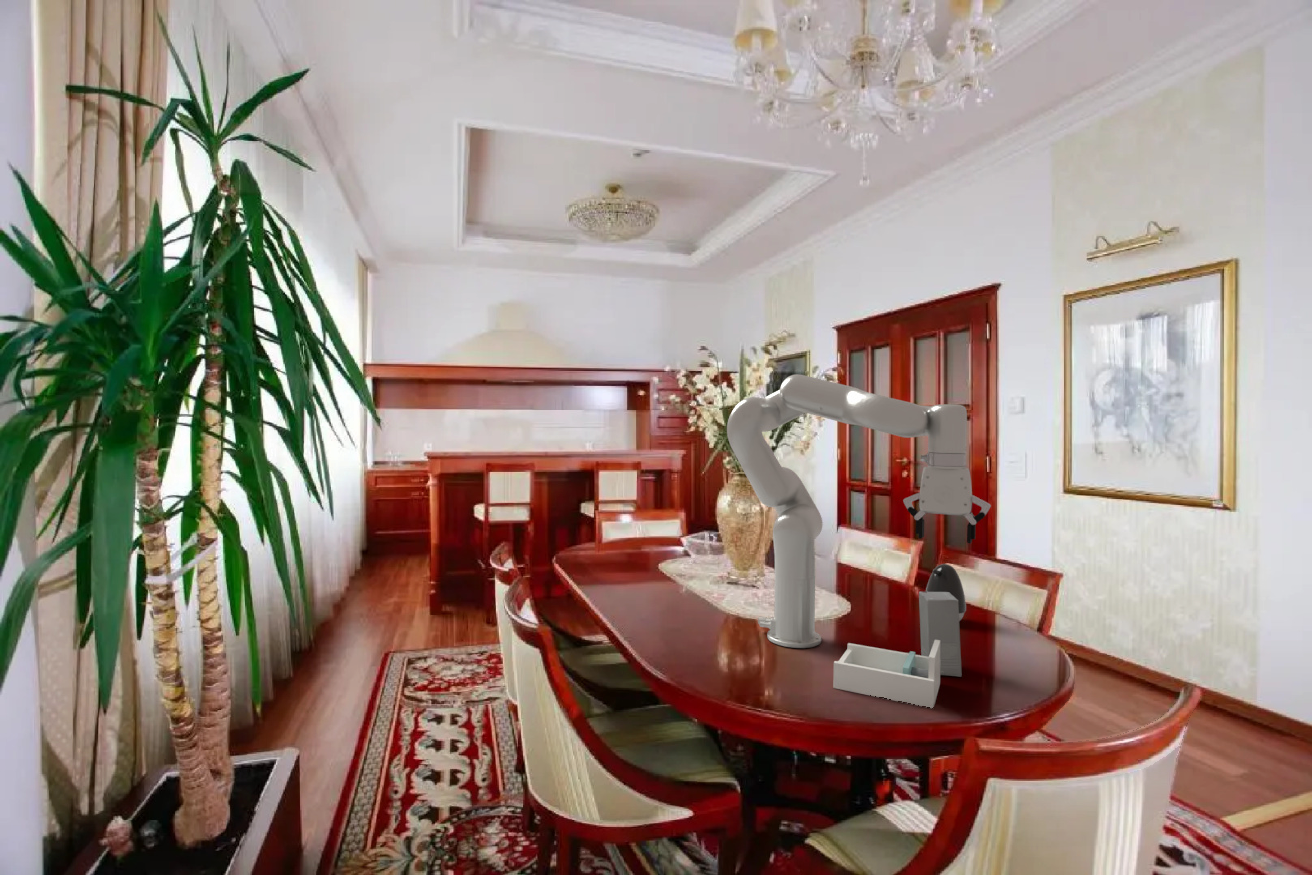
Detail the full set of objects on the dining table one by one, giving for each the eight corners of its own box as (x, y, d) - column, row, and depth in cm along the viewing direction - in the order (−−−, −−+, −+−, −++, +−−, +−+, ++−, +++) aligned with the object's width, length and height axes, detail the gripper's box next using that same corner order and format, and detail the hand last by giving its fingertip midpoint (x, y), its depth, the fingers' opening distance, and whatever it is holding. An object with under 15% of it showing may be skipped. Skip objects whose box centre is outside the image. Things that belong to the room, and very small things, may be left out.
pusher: (902, 692, 119) (902, 667, 119) (909, 674, 127) (910, 651, 127) (926, 697, 117) (927, 671, 116) (932, 678, 125) (932, 654, 125)
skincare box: (962, 678, 129) (963, 601, 129) (925, 675, 130) (926, 598, 130) (951, 663, 137) (952, 590, 137) (916, 660, 139) (918, 588, 138)
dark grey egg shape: (915, 619, 168) (916, 563, 168) (937, 613, 174) (938, 558, 174) (951, 629, 160) (952, 570, 160) (973, 622, 166) (974, 565, 166)
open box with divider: (833, 687, 123) (833, 642, 123) (848, 666, 135) (848, 624, 135) (933, 708, 115) (934, 659, 114) (940, 683, 126) (940, 638, 126)
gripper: (901, 460, 138) (899, 538, 138) (990, 463, 129) (988, 547, 129) (907, 459, 144) (905, 533, 145) (992, 462, 135) (991, 541, 136)
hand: (944, 540), depth 137 cm, fingers open, 9 cm apart
